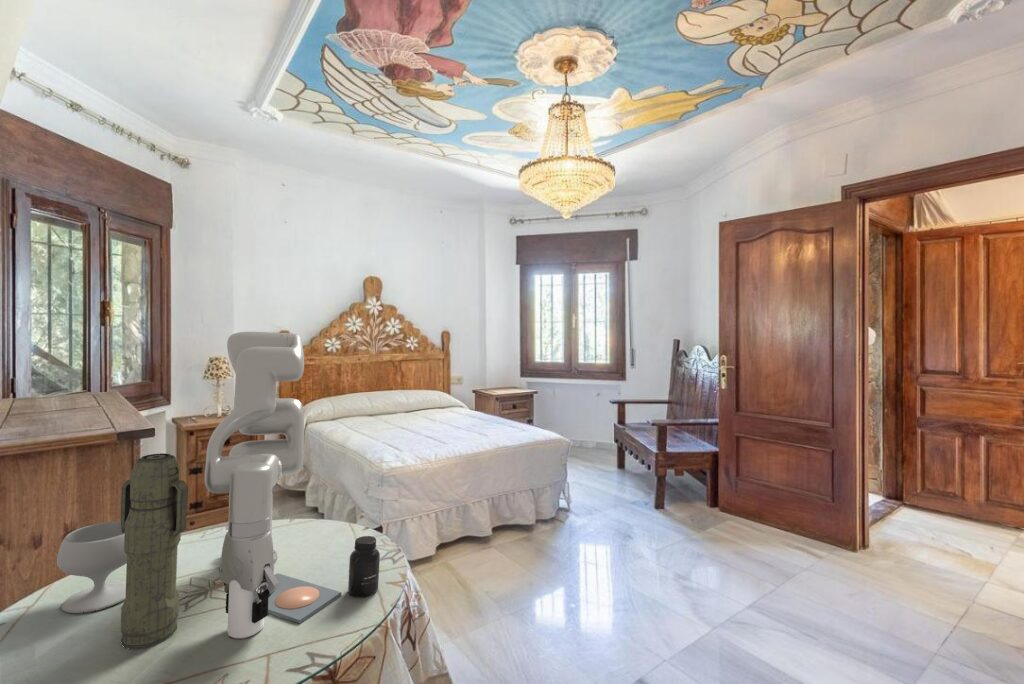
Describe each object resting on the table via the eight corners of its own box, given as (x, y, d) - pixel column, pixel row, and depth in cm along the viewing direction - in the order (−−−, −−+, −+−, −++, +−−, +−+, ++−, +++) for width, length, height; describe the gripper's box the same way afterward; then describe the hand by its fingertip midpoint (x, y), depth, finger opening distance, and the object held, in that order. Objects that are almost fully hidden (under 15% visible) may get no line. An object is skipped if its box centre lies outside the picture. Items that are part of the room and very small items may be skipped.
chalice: (114, 578, 112) (116, 515, 112) (154, 590, 108) (156, 525, 108) (39, 608, 99) (41, 537, 99) (81, 624, 95) (83, 549, 95)
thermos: (169, 648, 88) (175, 462, 88) (100, 651, 87) (106, 462, 87) (195, 620, 97) (201, 451, 97) (132, 622, 96) (139, 450, 96)
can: (237, 620, 98) (239, 562, 98) (269, 620, 98) (271, 562, 98) (220, 640, 91) (222, 578, 91) (255, 639, 92) (257, 578, 92)
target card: (232, 600, 105) (232, 596, 105) (277, 576, 116) (277, 572, 116) (299, 623, 97) (300, 619, 97) (341, 595, 108) (341, 591, 108)
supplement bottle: (369, 600, 107) (371, 547, 107) (342, 596, 108) (344, 544, 108) (383, 585, 113) (385, 535, 113) (357, 581, 115) (359, 532, 115)
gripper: (202, 524, 94) (199, 613, 94) (264, 541, 88) (261, 637, 88) (236, 512, 101) (233, 595, 101) (297, 527, 95) (293, 615, 95)
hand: (246, 613), depth 95 cm, fingers open, 6 cm apart
